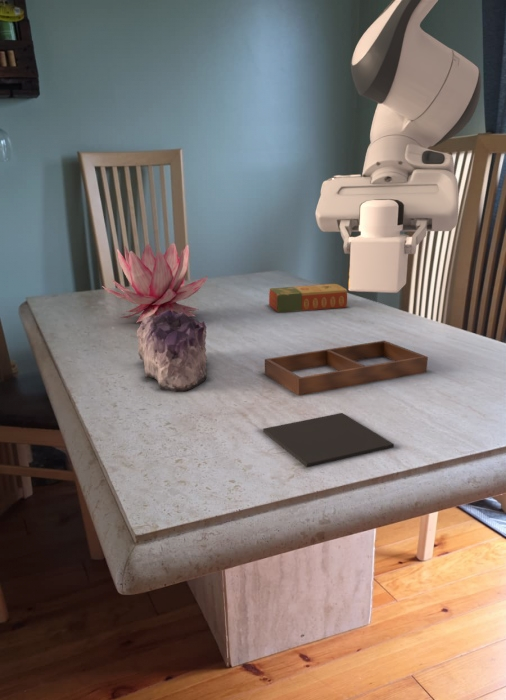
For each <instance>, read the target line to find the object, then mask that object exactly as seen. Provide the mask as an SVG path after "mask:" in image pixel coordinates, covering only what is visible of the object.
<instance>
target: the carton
mask: <svg viewBox="0 0 506 700" xmlns="http://www.w3.org/2000/svg"><path fill="white" fill-rule="evenodd" d="M268 305H269V307H271V308H272V309H273V310H274V311H275V312H276V313H279V314H280V313H290V312H304V311H317V310H330V309H331V310H332V309H342V308H347V307H348V290H347V289H346V288H345V287H343V286H342V285H340V284H337V283H325V284H313V285H298V286H286V287H285V286H283V287H270V288H269V293H268Z"/></svg>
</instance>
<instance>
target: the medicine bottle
mask: <svg viewBox="0 0 506 700" xmlns="http://www.w3.org/2000/svg"><path fill="white" fill-rule="evenodd" d="M403 215H404V204H403V203H402V202H401V201H399V200H394V199H374V200H368V201H365V202H363V203H361V205H360V211H359V231H361V232H360V235H357V236H354V237H355V238H353V239H351V240H350V254H348V255H349V257H348V258H349V259H348V288H347V289H348V291H349V292H357V293H358V292H359V293H360V292H361V293H367V292H368V293H386V294H387V293H388V294H389V293H391V294H397V293H399V292H400V291H401V290H402V288H404V286H405V285H406V284H407V276H408V275H407V274H408V261H409V254H405V250H404V245H405V238H406V237H410V235H409V234H407V233H401V232H402V231H401V230H403Z"/></svg>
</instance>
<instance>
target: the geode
mask: <svg viewBox="0 0 506 700" xmlns="http://www.w3.org/2000/svg"><path fill="white" fill-rule="evenodd" d="M136 338H137V340H138V353H137V354H138V356H139V359H140V360H141V361H143V368H144V377H145V378H148V379H155V380H156V381H157V384H158V387H159V388H160V390H162V391H167V392H176V393H177V392H187V391H189V390H191V389H193V388H196V387H198V386H199V385H200V384H202V383H204V381H206V380H207V365H206V362H207V361H208V359H207V355H206V354H207V353H206V351H207V348H206V345H207V344H206V340H207V339H206V338H207V325H206V323H205V321H199V320H197V319H195V318H192V317H188V316H187V315H186V314H185V313H184V312H182V313H179V314H178V313H177V312H176V311H171V310H168V311H165V312H163V313H161V314H159V315H158V316H156V317H145V318H144V319H143V321H141V322H140V325H139V327H138V329H137V330H136Z"/></svg>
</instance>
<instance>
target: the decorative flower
mask: <svg viewBox="0 0 506 700" xmlns="http://www.w3.org/2000/svg"><path fill="white" fill-rule="evenodd" d="M116 251H117V257H118V262H119V264H120V268H121V269H122V272H123V273H124V275H125V277H126V279H127V280H128V282H129V284H130V286H131V287H132V289H133V290H134V291H133V290H132V289H129V288H126V287H125V286H123V285H122V284H120V283H118V282H117V281H116V280H115V279H113V278H111V281H112V282H113V284H114V285H115V287H116V288H117V289H119V290H120V291H122V292H123V293H121V292H119V291H115V290H113V289H111V288H108V287H106V286H103V285H101V287H102V288H103V289H104V290H105V291H106V292H107V293H109V294H111V295H113V296H115V297H117V298H118V299H122V300H125V301H128V302H129V303H132V304H135V305H137V306H136V307H134V308H132V309H130V310H125V312H127V313H130V314H129V315H125V316H122V317H119V319H127V318H130V317H134V316H136V315H138V314H140V313H141V314H140V316H139V317H138V319H137V320H136V322H135V324H137V323H142V321H143V319H144V318H145V317H156V316H158V315H159V314H161V313H163V312H165V311H168V310H171V311H176V312H177V313H178V314H179V313H182V312H184V313H185V314H186V315H187V316H188V317H189V318H192V317H196V315H195V314H194V313H193V312H196V311H199V308H195V307H191V306H189V305H184V304H180V303H178V302H180V301H183V300H186V299H189V298H190V297H191V296H193V295H194V294H196V293H197V292H199V290H200V289H201V288H202V286H203V285H204V284H205V283H206V282H207V280H208V278H209V275H207V276H205V277H203V278H200V279H198V280H195V281H193V282H190V283H188V284H185V278H186V274H187V271H188V266H189V265H188V264H189V256H190V252H189V251H190V250H189V244H186V245H185V248H184V247H182V248H181V251H180V256H179V254H178V251H177V247H176V243H175V242H171V244H170V245H169V247H168V248H167V249H166V251H165V252H164V254H163V253H162V251H161V250H160V249H158V250H157V251H156V254H155V253H154V251H153V248H152V247H151V244H150V243H148V242H147V243H146V245H145V247H144V249H143V251H142V255H141V258H140V257H139V256H138V255H137V254H135V252H134V251H133V250H130V251H128V248H127V246H126V245H125V246H124V256H125V257H124V256H123V255H122V253H121V251H120V250H119V249H118V248H116Z"/></svg>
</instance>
